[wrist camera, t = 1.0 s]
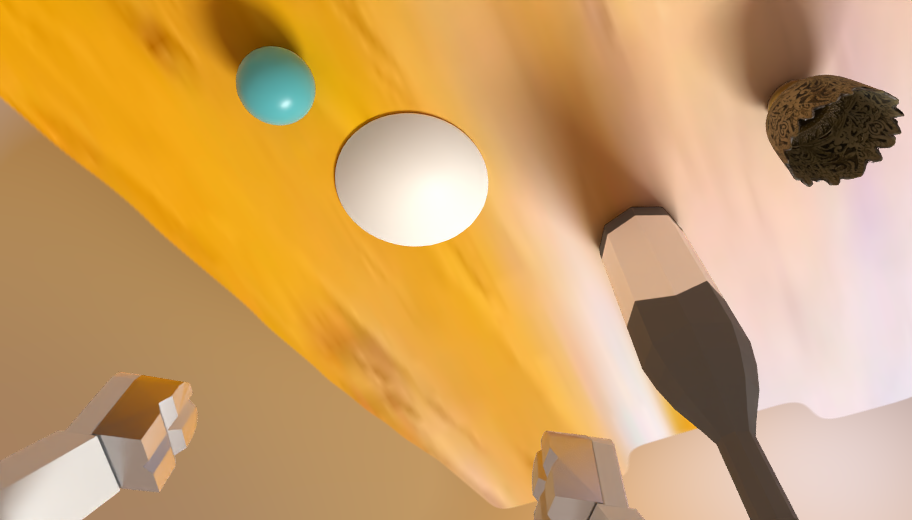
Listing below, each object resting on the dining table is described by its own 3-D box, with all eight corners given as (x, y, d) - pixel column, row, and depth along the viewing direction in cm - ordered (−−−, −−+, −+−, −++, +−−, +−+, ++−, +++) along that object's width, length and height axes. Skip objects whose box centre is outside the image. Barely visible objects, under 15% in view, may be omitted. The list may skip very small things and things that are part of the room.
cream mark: (311, 132, 43) (310, 133, 43) (471, 96, 41) (472, 97, 41) (364, 255, 52) (364, 256, 52) (499, 231, 50) (499, 232, 50)
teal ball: (235, 45, 39) (209, 71, 34) (304, 28, 38) (286, 52, 34) (268, 113, 42) (248, 144, 38) (332, 99, 41) (318, 129, 37)
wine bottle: (606, 276, 54) (724, 599, 31) (589, 219, 49) (714, 551, 26) (683, 253, 52) (870, 579, 29) (673, 192, 48) (888, 523, 24)
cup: (854, 52, 40) (929, 91, 33) (812, 138, 44) (871, 187, 38) (759, 53, 40) (817, 92, 33) (727, 140, 44) (773, 188, 38)
